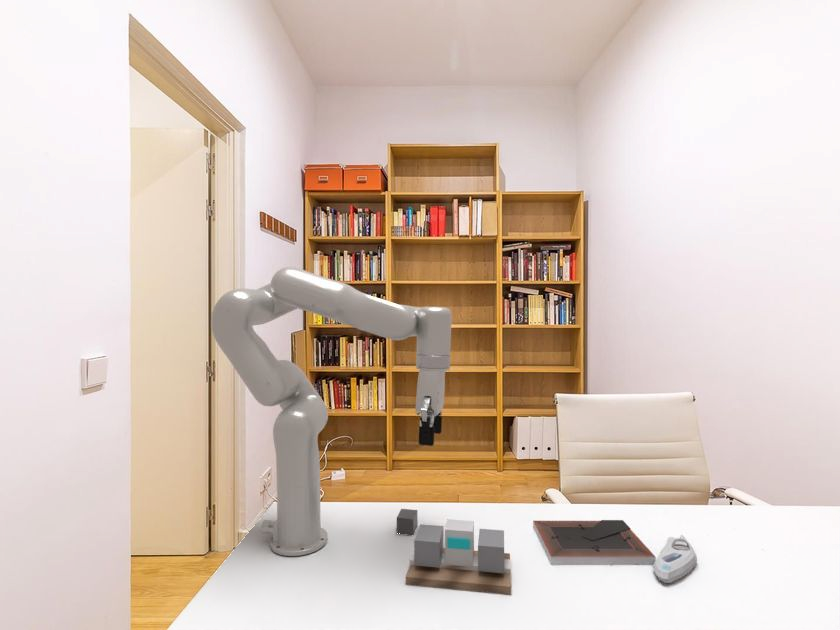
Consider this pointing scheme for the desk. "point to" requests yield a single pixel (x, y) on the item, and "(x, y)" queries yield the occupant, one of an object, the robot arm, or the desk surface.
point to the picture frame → (592, 543)
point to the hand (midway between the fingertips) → (430, 438)
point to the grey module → (459, 542)
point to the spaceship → (674, 560)
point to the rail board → (461, 576)
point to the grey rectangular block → (407, 521)
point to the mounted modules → (432, 547)
